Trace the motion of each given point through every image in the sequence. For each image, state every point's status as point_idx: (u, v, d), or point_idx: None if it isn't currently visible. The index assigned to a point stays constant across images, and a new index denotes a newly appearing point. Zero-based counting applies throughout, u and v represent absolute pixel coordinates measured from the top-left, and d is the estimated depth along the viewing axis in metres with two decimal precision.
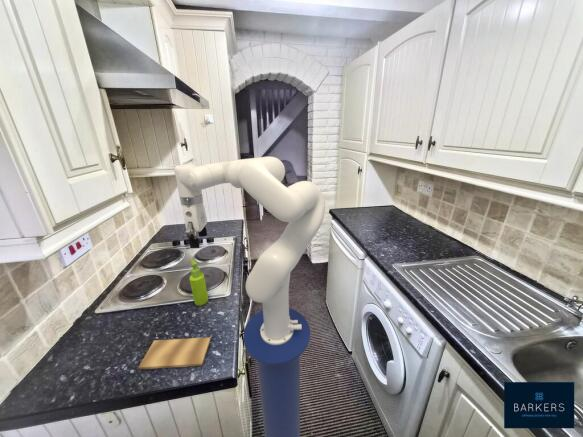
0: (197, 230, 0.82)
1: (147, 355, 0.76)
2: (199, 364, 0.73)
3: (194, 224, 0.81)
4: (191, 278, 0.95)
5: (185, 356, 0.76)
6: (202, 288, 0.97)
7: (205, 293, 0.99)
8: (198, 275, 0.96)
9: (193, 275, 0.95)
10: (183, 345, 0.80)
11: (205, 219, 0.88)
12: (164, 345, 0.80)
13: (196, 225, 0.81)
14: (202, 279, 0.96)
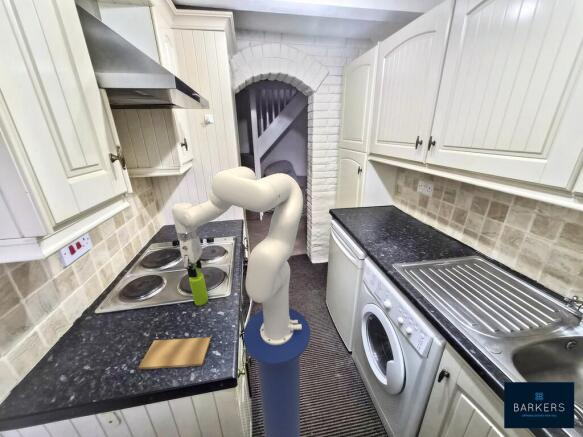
0: (193, 262, 0.89)
1: (147, 355, 0.76)
2: (199, 364, 0.73)
3: (190, 257, 0.88)
4: (191, 279, 0.95)
5: (185, 356, 0.76)
6: (202, 288, 0.97)
7: (205, 293, 0.99)
8: (198, 275, 0.95)
9: None
10: (183, 345, 0.80)
11: (200, 250, 0.96)
12: (164, 345, 0.80)
13: (192, 258, 0.89)
14: (202, 280, 0.96)
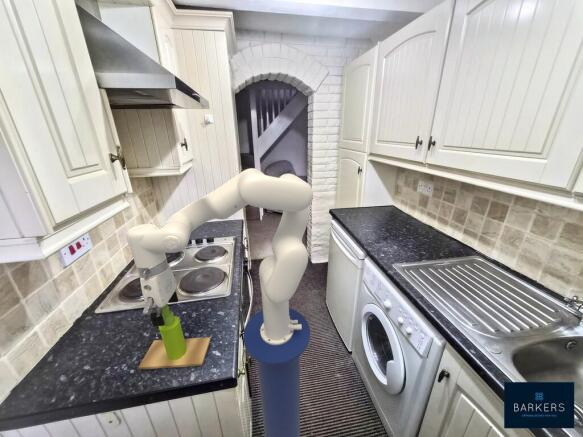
0: (160, 306, 0.64)
1: (147, 355, 0.76)
2: (199, 364, 0.73)
3: (155, 299, 0.63)
4: (161, 326, 0.71)
5: (185, 356, 0.76)
6: (176, 338, 0.73)
7: (181, 344, 0.75)
8: (171, 322, 0.71)
9: None
10: None
11: (173, 285, 0.71)
12: None
13: (158, 300, 0.64)
14: (176, 327, 0.72)
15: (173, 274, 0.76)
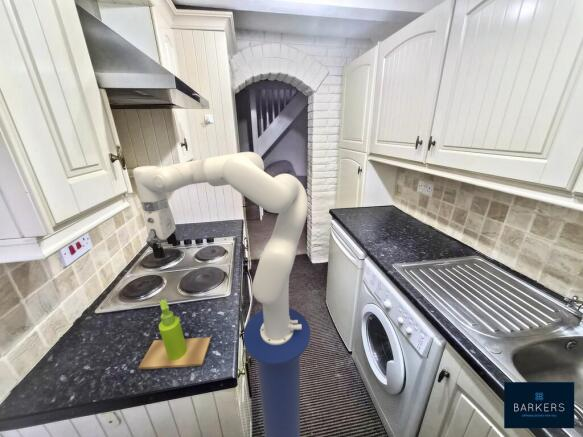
0: (161, 238, 0.74)
1: (147, 355, 0.76)
2: (199, 364, 0.73)
3: (157, 232, 0.73)
4: (161, 326, 0.71)
5: (185, 356, 0.76)
6: (176, 338, 0.73)
7: (181, 344, 0.75)
8: (171, 322, 0.71)
9: (164, 323, 0.70)
10: None
11: (173, 225, 0.81)
12: None
13: (159, 233, 0.73)
14: (176, 327, 0.72)
15: None
